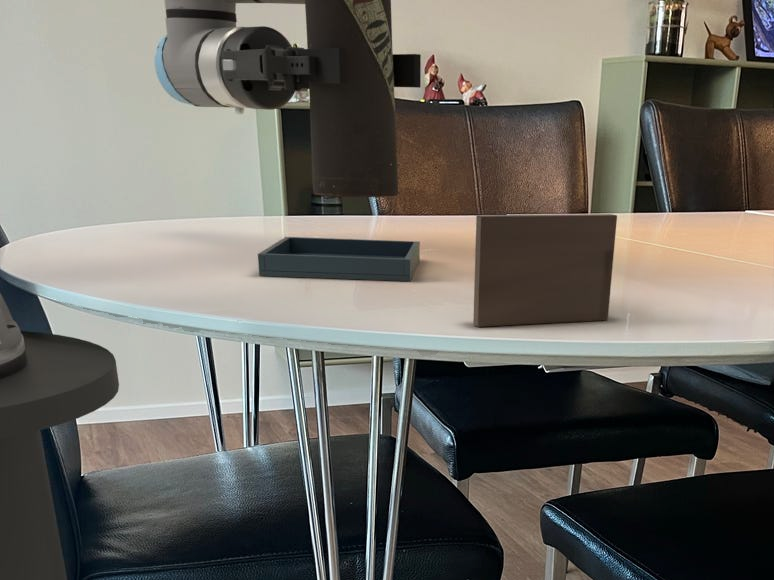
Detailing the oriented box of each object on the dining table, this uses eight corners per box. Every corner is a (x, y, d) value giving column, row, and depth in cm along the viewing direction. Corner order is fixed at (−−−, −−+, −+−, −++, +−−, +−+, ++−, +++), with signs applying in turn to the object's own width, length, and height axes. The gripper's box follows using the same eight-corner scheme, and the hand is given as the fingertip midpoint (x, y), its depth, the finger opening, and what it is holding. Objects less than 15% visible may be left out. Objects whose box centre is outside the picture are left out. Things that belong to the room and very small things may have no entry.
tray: (259, 275, 96) (257, 254, 96) (286, 256, 109) (285, 236, 108) (410, 281, 97) (410, 259, 96) (419, 260, 110) (419, 241, 109)
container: (386, 199, 94) (379, -56, 85) (296, 197, 96) (280, -54, 86) (410, 195, 101) (407, -40, 92) (327, 193, 103) (315, -38, 94)
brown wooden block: (608, 320, 82) (617, 215, 78) (478, 327, 77) (481, 216, 74) (526, 290, 94) (530, 198, 90) (409, 295, 89) (409, 198, 86)
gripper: (332, 111, 113) (465, 117, 98) (164, 106, 101) (286, 112, 86) (330, 34, 110) (466, 28, 95) (154, 19, 97) (281, 10, 82)
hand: (381, 68), depth 90 cm, fingers closed on container, 8 cm apart
